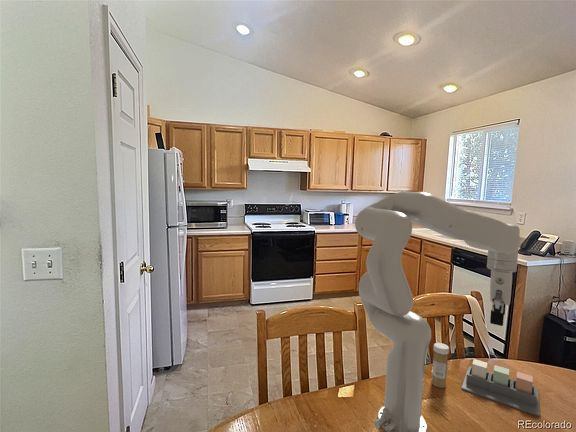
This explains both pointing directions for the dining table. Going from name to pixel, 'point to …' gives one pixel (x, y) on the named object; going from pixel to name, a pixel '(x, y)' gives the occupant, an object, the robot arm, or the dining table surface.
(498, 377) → the green button
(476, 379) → the button panel
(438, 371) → the sprinkles bottle
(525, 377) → the terracotta button
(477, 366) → the cream button
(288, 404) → the dining table surface
